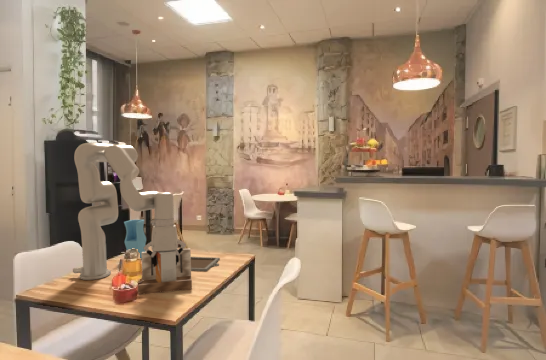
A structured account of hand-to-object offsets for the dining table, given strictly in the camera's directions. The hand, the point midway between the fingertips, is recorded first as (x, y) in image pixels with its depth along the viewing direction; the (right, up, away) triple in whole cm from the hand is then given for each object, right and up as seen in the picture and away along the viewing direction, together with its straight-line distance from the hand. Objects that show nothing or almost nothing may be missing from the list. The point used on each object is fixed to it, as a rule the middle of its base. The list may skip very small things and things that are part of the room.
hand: (165, 264), depth 141 cm
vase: (-29, -7, +43) cm, 53 cm away
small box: (0, -7, 0) cm, 7 cm away
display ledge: (0, -9, 0) cm, 9 cm away
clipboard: (+3, -8, +30) cm, 31 cm away
